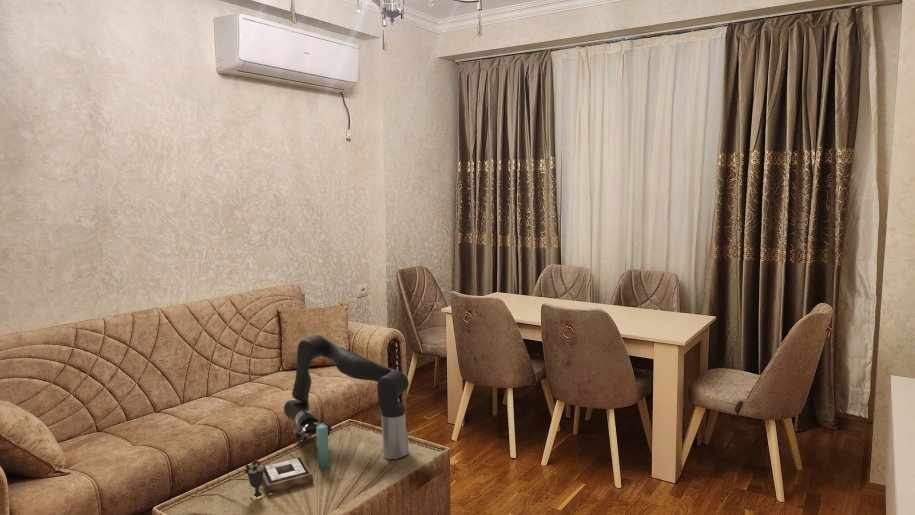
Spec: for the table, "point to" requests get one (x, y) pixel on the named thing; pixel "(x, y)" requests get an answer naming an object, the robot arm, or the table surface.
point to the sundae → (255, 475)
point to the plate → (284, 470)
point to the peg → (323, 446)
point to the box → (290, 482)
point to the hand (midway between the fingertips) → (317, 436)
